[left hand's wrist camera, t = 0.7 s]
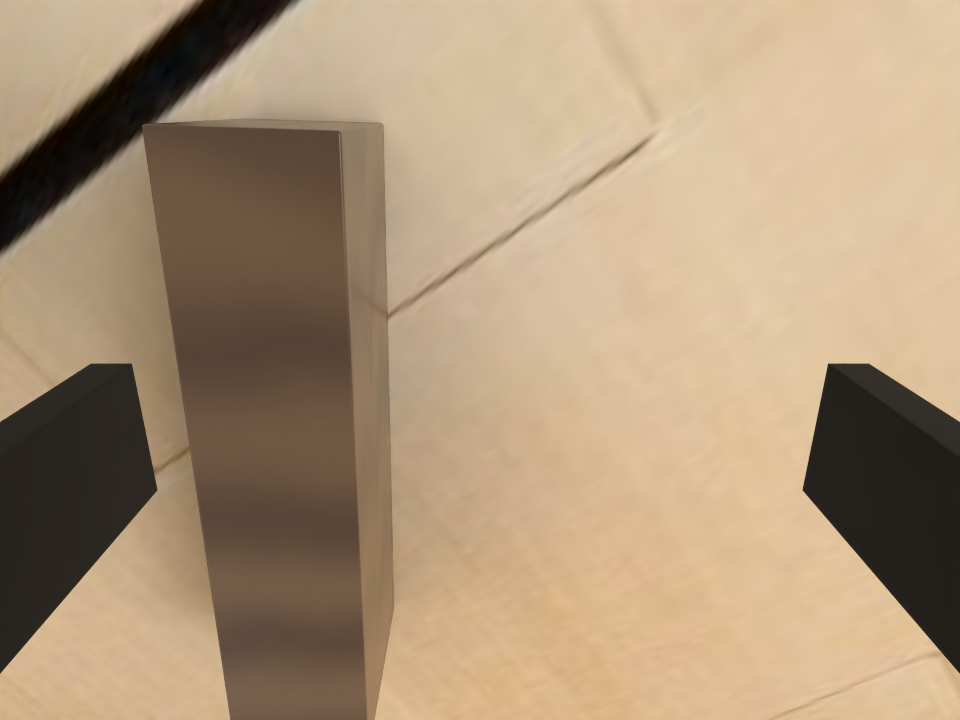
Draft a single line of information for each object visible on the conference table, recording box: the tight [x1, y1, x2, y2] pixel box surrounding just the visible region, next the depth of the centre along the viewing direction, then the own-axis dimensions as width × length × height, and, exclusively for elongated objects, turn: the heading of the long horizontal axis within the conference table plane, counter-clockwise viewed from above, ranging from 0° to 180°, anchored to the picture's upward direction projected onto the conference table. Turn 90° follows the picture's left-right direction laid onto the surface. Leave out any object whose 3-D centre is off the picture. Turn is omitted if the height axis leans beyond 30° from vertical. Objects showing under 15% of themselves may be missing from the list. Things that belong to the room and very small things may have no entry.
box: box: [142, 119, 394, 720], centre depth 30 cm, size 27×6×10 cm, turn 178°
